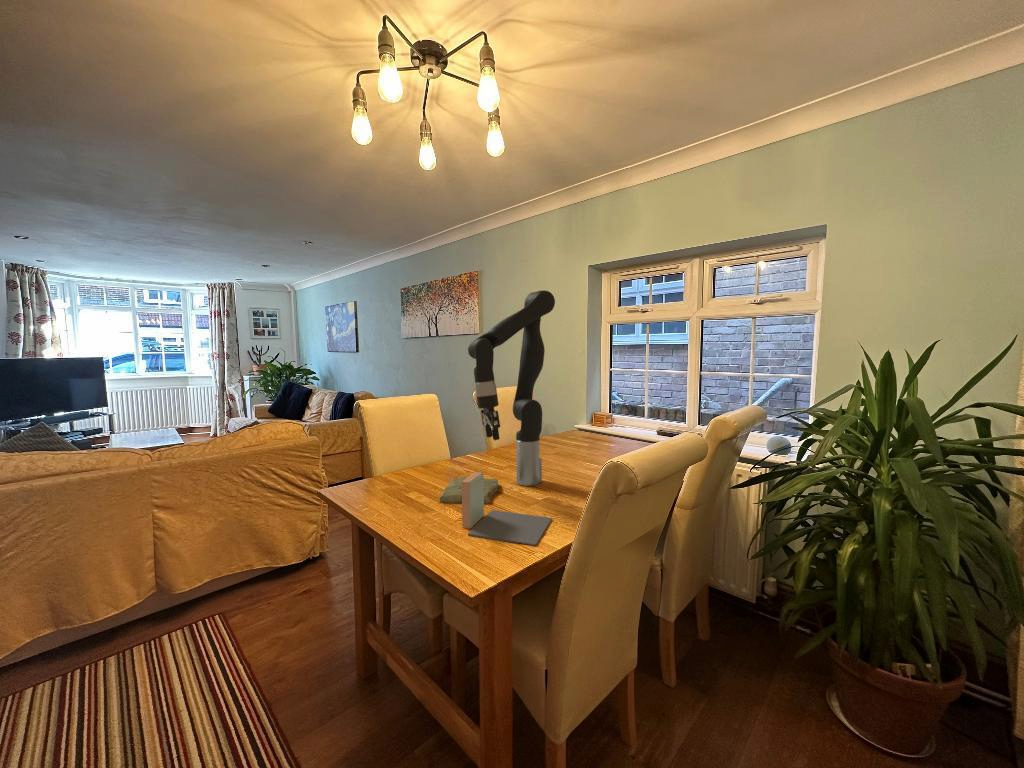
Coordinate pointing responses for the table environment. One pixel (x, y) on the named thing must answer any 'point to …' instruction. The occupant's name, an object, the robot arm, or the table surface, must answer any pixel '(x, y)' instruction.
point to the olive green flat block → (455, 490)
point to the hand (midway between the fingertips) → (492, 438)
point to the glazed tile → (472, 499)
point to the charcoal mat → (511, 527)
